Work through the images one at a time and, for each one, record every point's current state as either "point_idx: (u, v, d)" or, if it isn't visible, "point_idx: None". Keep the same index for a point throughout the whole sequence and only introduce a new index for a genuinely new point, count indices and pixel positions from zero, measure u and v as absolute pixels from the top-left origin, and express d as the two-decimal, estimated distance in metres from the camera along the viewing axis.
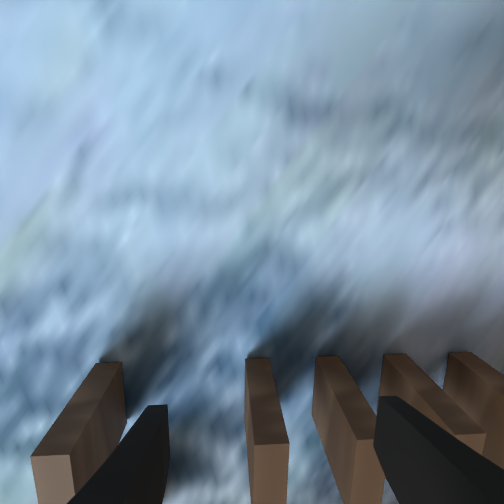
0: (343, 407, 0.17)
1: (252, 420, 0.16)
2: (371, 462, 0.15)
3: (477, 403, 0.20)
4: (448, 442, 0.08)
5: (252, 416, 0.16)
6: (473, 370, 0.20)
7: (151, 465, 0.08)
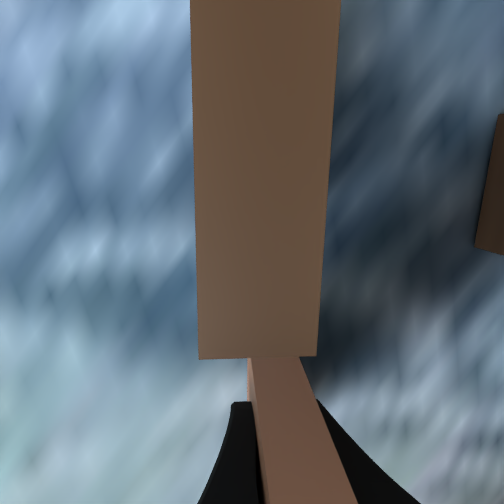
0: None
1: None
2: None
3: None
4: (345, 447, 0.08)
5: None
6: None
7: None
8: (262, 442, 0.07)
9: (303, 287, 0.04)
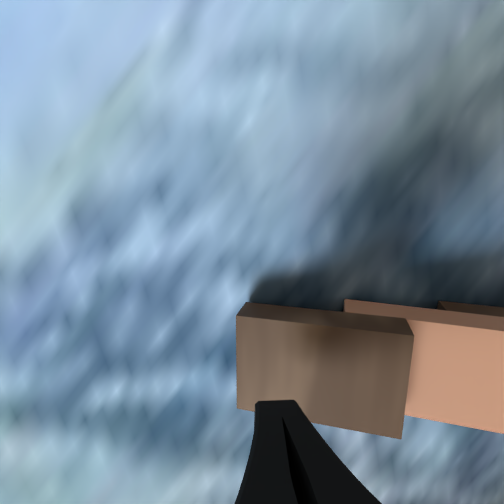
0: None
1: None
2: None
3: None
4: (316, 449, 0.08)
5: None
6: None
7: None
8: (469, 327, 0.13)
9: None
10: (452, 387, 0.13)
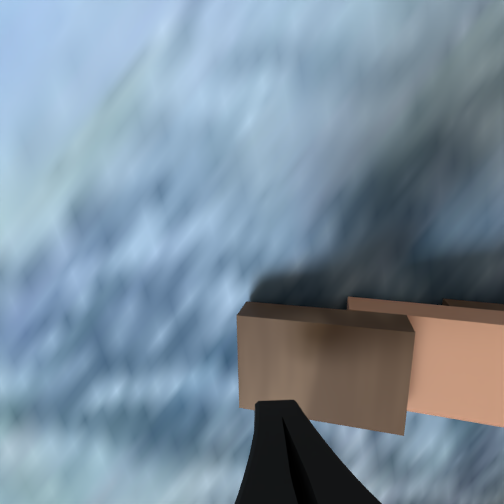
0: None
1: None
2: None
3: None
4: (316, 449, 0.08)
5: None
6: None
7: None
8: (474, 323, 0.13)
9: None
10: (458, 382, 0.13)
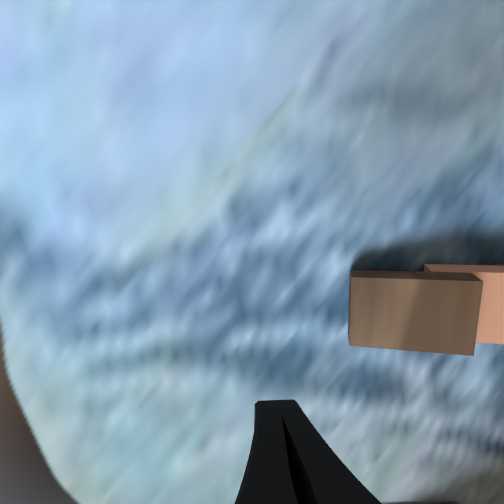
0: None
1: None
2: None
3: None
4: (316, 449, 0.08)
5: None
6: None
7: None
8: None
9: None
10: None
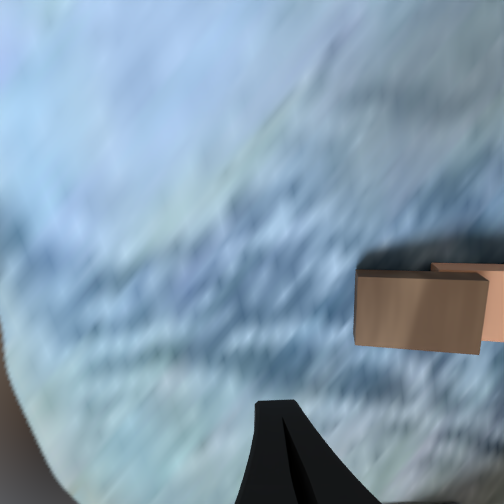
0: None
1: None
2: None
3: None
4: (316, 449, 0.08)
5: None
6: None
7: None
8: None
9: None
10: None
